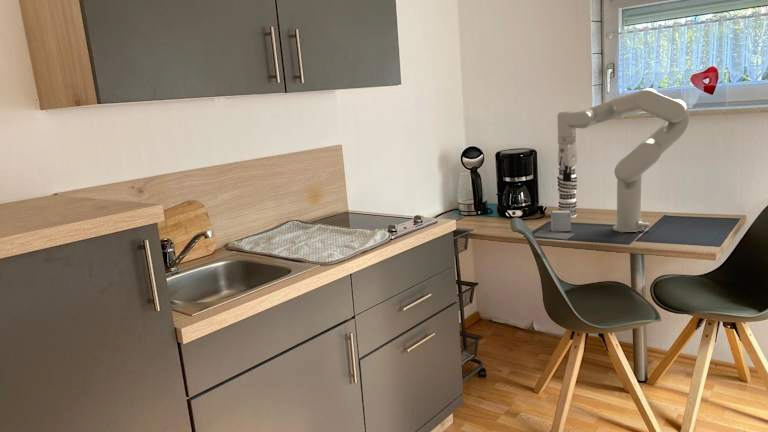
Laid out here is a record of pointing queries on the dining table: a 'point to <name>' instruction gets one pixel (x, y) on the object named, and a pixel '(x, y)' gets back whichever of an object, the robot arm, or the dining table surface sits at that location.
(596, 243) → the dining table surface
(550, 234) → the mat
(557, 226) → the medicine box
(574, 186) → the decorative candle
